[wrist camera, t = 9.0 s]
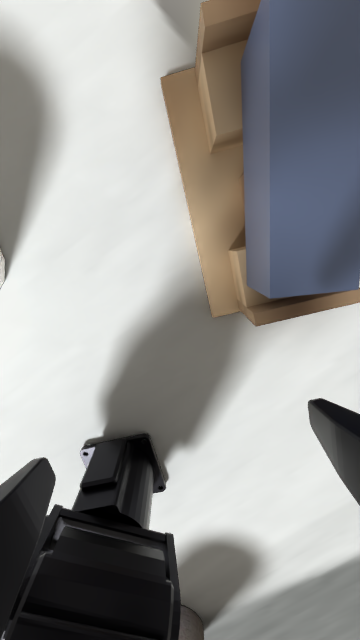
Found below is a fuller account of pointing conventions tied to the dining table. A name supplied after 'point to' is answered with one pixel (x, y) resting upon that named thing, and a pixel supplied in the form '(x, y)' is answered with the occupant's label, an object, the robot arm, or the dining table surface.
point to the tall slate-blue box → (302, 147)
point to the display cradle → (224, 166)
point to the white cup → (2, 269)
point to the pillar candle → (190, 625)
